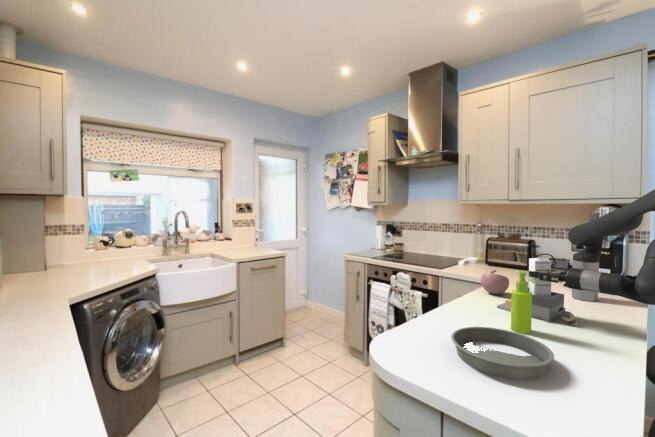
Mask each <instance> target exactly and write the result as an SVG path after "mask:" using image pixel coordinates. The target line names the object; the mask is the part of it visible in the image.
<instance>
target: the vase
mask: <svg viewBox="0 0 655 437" xmlns="http://www.w3.org/2000/svg"><path fill="white" fill-rule="evenodd" d="M558 311H559V312H561V313H562V317H561V318H562V319H563V320H564V321H565V322H566V323H569V324H570V325H571V326H572V327H575V328H576V327H579V326H580V324H579V323H578V322H577V320H576V319H575V316H574V314H573V313H572V312H571V311H567V310H566V308H565V307H564V308H563V307H561V308H559V309H558Z"/></svg>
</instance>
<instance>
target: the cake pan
mask: <svg viewBox="0 0 655 437" xmlns="http://www.w3.org/2000/svg"><path fill="white" fill-rule="evenodd" d="M450 338H451V341H452V343H453V344H454V345H455V348H456V354H457V355H458V357H459V358H460V360H461V361H463V363H465V364H467V365H468V366H470V367H471V368H473V369H476V370H477V369H478V370H477V371H480V372H483V373H485V374H487V375H492V376H495V377H499V376H500V377H499V378H503V377H504V379H512V380H532V379H537V378H540V377H541V376H543V375H544V374H545V372H546V369H547V366H548V365H550V364H551V363H553V361H554V358H555V354H554V353H553V351H552V349H551V348H549V347H548V346H547V345H546V344H544V343H542V342H540V341H539V340H537V339H535V338H532V337H530V336H528V335H526V334H522V333H517V332H514V331H512V330H506V329H502V328H495V327H490V326H489V327H487V326H468V327H463V328H459V329H456V330H454V331H453V332H452V333H451V336H450ZM469 342H473V343H489V344H490V343H491V344H499V345H501V346H502V345H503V346H506V347H507V346H508V347H510V348H514V349H517V350H520V351H522V352H524V353H527V354H528V355H519V354H514V353H507V352H502V351H500V350H496V351H495V349H491V348H488V350H486V351H485V352H484V351H481V350H480V351H478V352H479V353H472V352H470V351H468V350H466V349H467V348H463V347H464V346H465V345H464V344H466V343H469ZM478 345H479V346H480V347H482V345H480V344H478ZM480 347H479V348H480ZM485 348H486V347H485ZM486 349H487V348H486ZM490 349H491V351H489V350H490ZM482 350H483V348H482ZM493 350H494V351H493ZM474 352H475V351H474Z"/></svg>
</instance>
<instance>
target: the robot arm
mask: <svg viewBox="0 0 655 437" xmlns="http://www.w3.org/2000/svg"><path fill="white" fill-rule="evenodd" d="M649 212H655V189H653V190H651V191H649V192H647V193H645V194H644V195H642V196H641V197H639V198H637V199H635V200H634V201H632V202H630V203H627V204H625V205H623V206H621V207H619V208H617V209H614V210H611V211H610V212H608V213H605V214H604V215H602V216H601V215H600V216H599V217H597V218H594V219H592V220H591V221H587V222H585V223H582V224H581V223H580V224H577V225H575V226H573V227H572V228H571V229H569V231H568V234H567V240H568V241H569V243H570V244H572V245H573V246H574V245H575V246H576V247H577V246H578V247H584V248H582V250H580V251H578V252H575V253H573V255H572V267H570V268H568V270H563V269H557V268H556V269H552V268H551V272H550V271H547V272H546V273H544V272H535V271H529V270H528V278H529V277H534V278H539V280H541V281H549V282H551V283H555V284H558V283H559V284H562V283H563V282H564V283H565V284H566V286H567V288H569V289H571V297H572V298H573V299H577V300H579V301H585V302H586V301H587V302H597V301H599V294H605V295H611V296H615V297H621V298H623V299H624V298H625V299H627V300H630V301H634V302H638V303H640V304H641V303H642V304H645V305H650V306H655V238H654V239H653V240H651V241H650V243H649V244H648V246H647V248H646V250H645V255H644V259H643V262H642V266H640V269H639V271H638V272H637V275H636V276H635V280H632V279H629V277H627V276H625V275H623V274H618V273H611V272H603V271H600V258H601V256H602V251H603V242H604V241H603V240H604V237H605V238H606V237H612V236H618V235H622V234H626V233H629V232H631V231H632V232H633V231H634V230H636V229H637V228H639V227H640V226H641V224H642V223H643V218H644V215H645V214H647V213H649ZM543 275H545V276H546V278H543Z"/></svg>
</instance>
